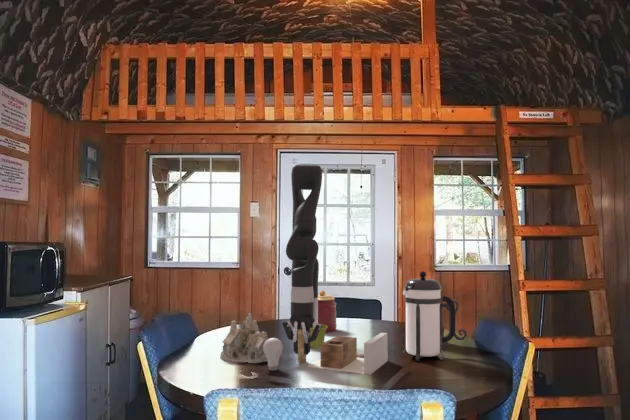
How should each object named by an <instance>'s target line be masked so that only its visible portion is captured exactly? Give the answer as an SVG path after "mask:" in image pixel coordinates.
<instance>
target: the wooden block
mask: <svg viewBox="0 0 630 420" xmlns="http://www.w3.org/2000/svg"><path fill="white" fill-rule="evenodd" d="M357 358H364V352H363V353H361V352H357Z"/></svg>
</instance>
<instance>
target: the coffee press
mask: <svg viewBox="0 0 630 420" xmlns="http://www.w3.org/2000/svg"><path fill="white" fill-rule="evenodd" d="M426 276H427V273H426V271H423V270H422V271H420V272H419V277H418V278H410V279H408V280H407V281H406V282H405V285H404V289H403V291H402V295H403V296H404V303H405V307H404V310H405V314H404V315H405V321H404V322H405V324H404V325H405V329H404V330H405V332H404V333H405V336H404V338H405V339H404V340H405V344H404V345H405V348H404V349H403V351H402V352H401V354H404V353H405V351H406V352H407V354H409V355H411V356H415V359H414V361H415V362H417V363H420V362H421V360H422V358H423V357H425V358H429V357H437V358H438V359H439V360H441V361H444V360H445V359H446V356H445V354H444V353H443V350H442V349H443V348H442V347H441V342H450V341H451V340H452V339H453V338H454V333H456V315H455V309H456V307H455V303H454V302H453V301H452V300H453V299H452V298H450V297H449V296H444V295H442V296H441V293H442V292H441V291H442V288H443V287H442V285H441V284H440V282H439V281H438V280H437V279H433V278H426ZM441 301H442V302H446V303H448V305H449V311H448V312H449V314H448V315H449V319H448V320H449V323H448V324H449V326H448V327H449V330H448V334H447V335H446V336H444V337H441ZM440 354H441V356H442V357H443V358H442V357H441V356H440Z"/></svg>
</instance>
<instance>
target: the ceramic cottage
mask: <svg viewBox="0 0 630 420" xmlns="http://www.w3.org/2000/svg"><path fill="white" fill-rule="evenodd" d="M253 319H254V318H253V315H252V313H248V314H247V317H246V318H245V320H243V322H242V324H241V325H242V326H241V328H238V326H237V325H238V324H237V320H232V321H231V322H230V328H229V329H230V330H229V332H228V334H227V335H226V337H225V338H224V339H223V340H222V343H223V346H222V351H221V352H220V357H219V359H221V360H222V361H226V362H234V363H245V362H248V363H247V364H249V363H250V364H258V363H259V364H260V363H265V362H267V363H268V360H267V357H266V355H265V353H264V350H263V346H264V343H265V342H266V340H268V339H269V337H268V333H267V332H266V331H260V329H259V326H258V323H257V320H256V319H254V320H253Z"/></svg>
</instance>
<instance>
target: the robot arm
mask: <svg viewBox="0 0 630 420" xmlns="http://www.w3.org/2000/svg"><path fill="white" fill-rule="evenodd" d="M322 182H323V171H322V168H321V166H320V165H317V164H306V163H305V164H303V163H302V164H301V163H300V164H296V163H295V164H294V165H293V166H292V168H291V191H292V192H291V193H292V233H291V235H290V238H289V239H288V242H287V244H286V248H285V253H286V256H287V259H289V260H291V262H292V263H291V289H290V317H289V320H286V321H283V322H282V326H283V329H284V331H285V333H286V337H287V339H288V340H290V341H292V342H293V352H294V354H295V355H298V330H303V336H304V340H305V343H304V355H306V356H307V355H309V353H311V347H310V343H311V342H313V341H315V340H316V338H317V336H318V334H319V332H320V329H321V327H322V325H321V324H318V295H319V271H320V270H319V269H320V268H319V267H320V266H319V265H320V263H319V259H318V258H317V257H318V254H319V244H318V242H317V241H316V239H314V238H315V236H316V233H317V216H316V213H317V207H318V205H319V199H320V196H321V190H322V184H323V183H322ZM305 190H306V191H307V190H308V191H310V193H309V194H308V195H307V197H306V198H305V197H304V195H303V192H302V191H305ZM312 326H313V329H314V331H313V333H312V335H311V330H310V329H311V327H312Z"/></svg>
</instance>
